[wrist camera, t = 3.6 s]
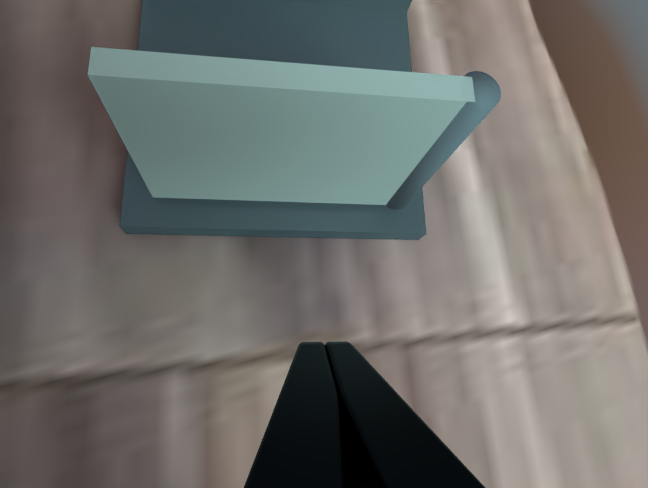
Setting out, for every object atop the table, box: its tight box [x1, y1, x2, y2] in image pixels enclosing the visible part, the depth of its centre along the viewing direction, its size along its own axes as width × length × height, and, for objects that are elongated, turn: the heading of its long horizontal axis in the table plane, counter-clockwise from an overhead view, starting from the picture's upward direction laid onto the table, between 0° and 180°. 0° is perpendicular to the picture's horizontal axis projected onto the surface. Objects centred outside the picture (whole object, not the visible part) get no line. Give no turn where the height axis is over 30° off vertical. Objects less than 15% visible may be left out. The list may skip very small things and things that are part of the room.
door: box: [88, 47, 501, 210], centre depth 16 cm, size 1×11×8 cm, turn 91°
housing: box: [120, 0, 426, 240], centre depth 21 cm, size 13×13×4 cm
